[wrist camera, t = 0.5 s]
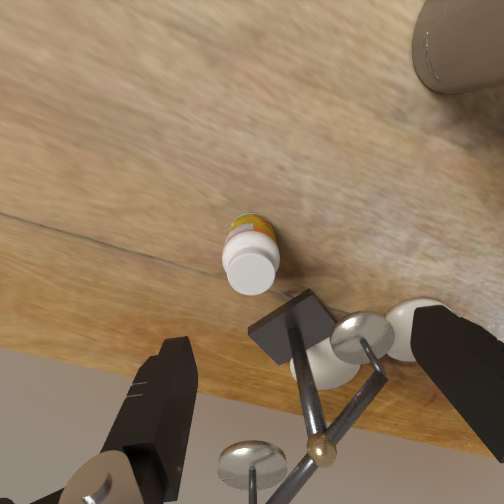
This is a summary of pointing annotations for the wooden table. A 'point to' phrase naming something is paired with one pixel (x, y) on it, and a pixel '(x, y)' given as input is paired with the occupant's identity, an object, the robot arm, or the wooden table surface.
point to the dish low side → (406, 325)
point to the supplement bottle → (250, 254)
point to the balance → (308, 391)
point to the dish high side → (327, 367)
